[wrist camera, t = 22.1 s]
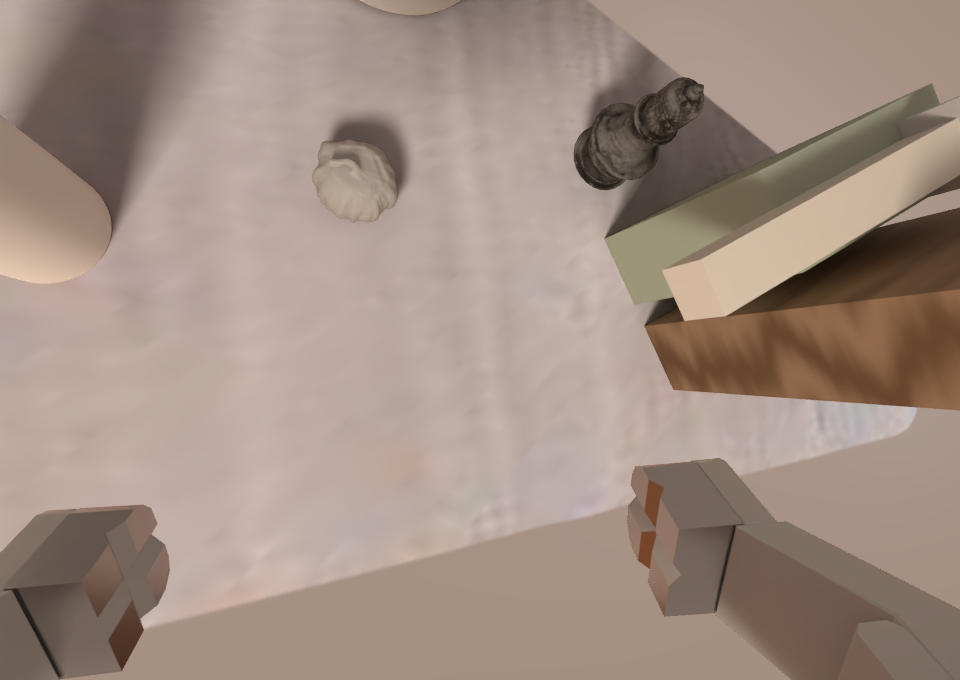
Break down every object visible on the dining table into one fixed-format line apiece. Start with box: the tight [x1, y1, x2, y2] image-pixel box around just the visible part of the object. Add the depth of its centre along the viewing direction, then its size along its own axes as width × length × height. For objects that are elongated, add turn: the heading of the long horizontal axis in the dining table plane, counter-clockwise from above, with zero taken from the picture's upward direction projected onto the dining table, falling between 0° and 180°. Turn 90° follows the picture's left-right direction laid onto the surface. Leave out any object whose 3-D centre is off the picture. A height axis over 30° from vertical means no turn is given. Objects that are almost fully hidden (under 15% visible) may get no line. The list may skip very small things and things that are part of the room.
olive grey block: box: [605, 84, 940, 304], centre depth 38 cm, size 6×15×16 cm, turn 117°
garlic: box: [312, 139, 398, 223], centre depth 35 cm, size 6×5×5 cm
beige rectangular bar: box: [662, 96, 960, 321], centre depth 28 cm, size 5×20×3 cm, turn 117°
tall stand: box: [645, 208, 960, 410], centre depth 34 cm, size 6×15×26 cm, turn 117°
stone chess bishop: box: [574, 77, 704, 190], centre depth 38 cm, size 6×6×12 cm
